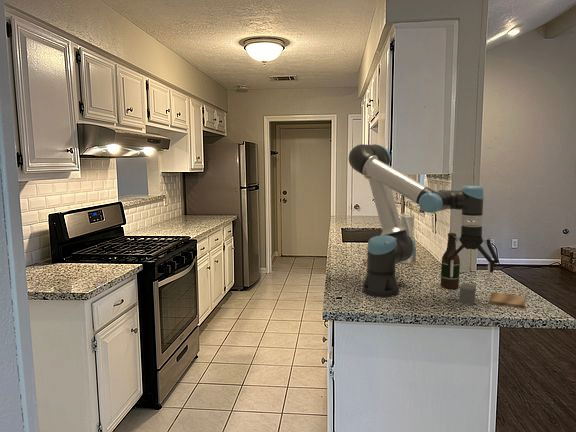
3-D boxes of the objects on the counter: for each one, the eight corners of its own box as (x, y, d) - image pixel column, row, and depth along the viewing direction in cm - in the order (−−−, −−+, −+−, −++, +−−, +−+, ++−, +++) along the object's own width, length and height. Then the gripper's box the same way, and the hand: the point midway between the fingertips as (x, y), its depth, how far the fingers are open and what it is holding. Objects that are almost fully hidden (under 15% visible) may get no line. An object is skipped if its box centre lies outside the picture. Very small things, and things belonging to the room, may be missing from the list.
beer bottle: (462, 288, 189) (465, 234, 186) (445, 289, 188) (448, 235, 185) (452, 283, 197) (455, 231, 194) (436, 284, 196) (439, 232, 192)
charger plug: (459, 302, 172) (460, 288, 171) (462, 295, 181) (463, 281, 180) (473, 304, 170) (473, 289, 169) (475, 297, 178) (476, 283, 178)
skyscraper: (411, 265, 230) (413, 212, 226) (396, 263, 234) (397, 211, 231) (416, 262, 237) (418, 211, 233) (401, 260, 241) (403, 210, 238)
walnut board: (489, 303, 171) (489, 300, 170) (491, 294, 181) (491, 292, 181) (524, 308, 165) (524, 305, 165) (523, 299, 176) (524, 296, 175)
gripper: (436, 225, 173) (435, 277, 175) (507, 228, 161) (504, 284, 164) (439, 222, 179) (438, 272, 182) (507, 225, 168) (505, 279, 170)
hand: (469, 278), depth 173 cm, fingers open, 13 cm apart
